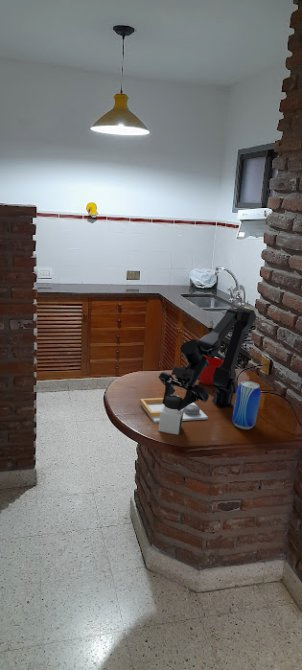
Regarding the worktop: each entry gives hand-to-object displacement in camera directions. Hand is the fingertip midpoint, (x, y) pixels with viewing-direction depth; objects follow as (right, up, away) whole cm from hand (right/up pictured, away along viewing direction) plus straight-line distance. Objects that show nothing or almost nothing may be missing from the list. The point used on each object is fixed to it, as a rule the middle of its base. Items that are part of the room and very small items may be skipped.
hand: (170, 407), depth 167 cm
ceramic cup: (+16, +3, +49) cm, 52 cm away
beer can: (+27, -9, +13) cm, 31 cm away
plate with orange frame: (+2, -4, +17) cm, 18 cm away
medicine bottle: (0, -8, +4) cm, 9 cm away
